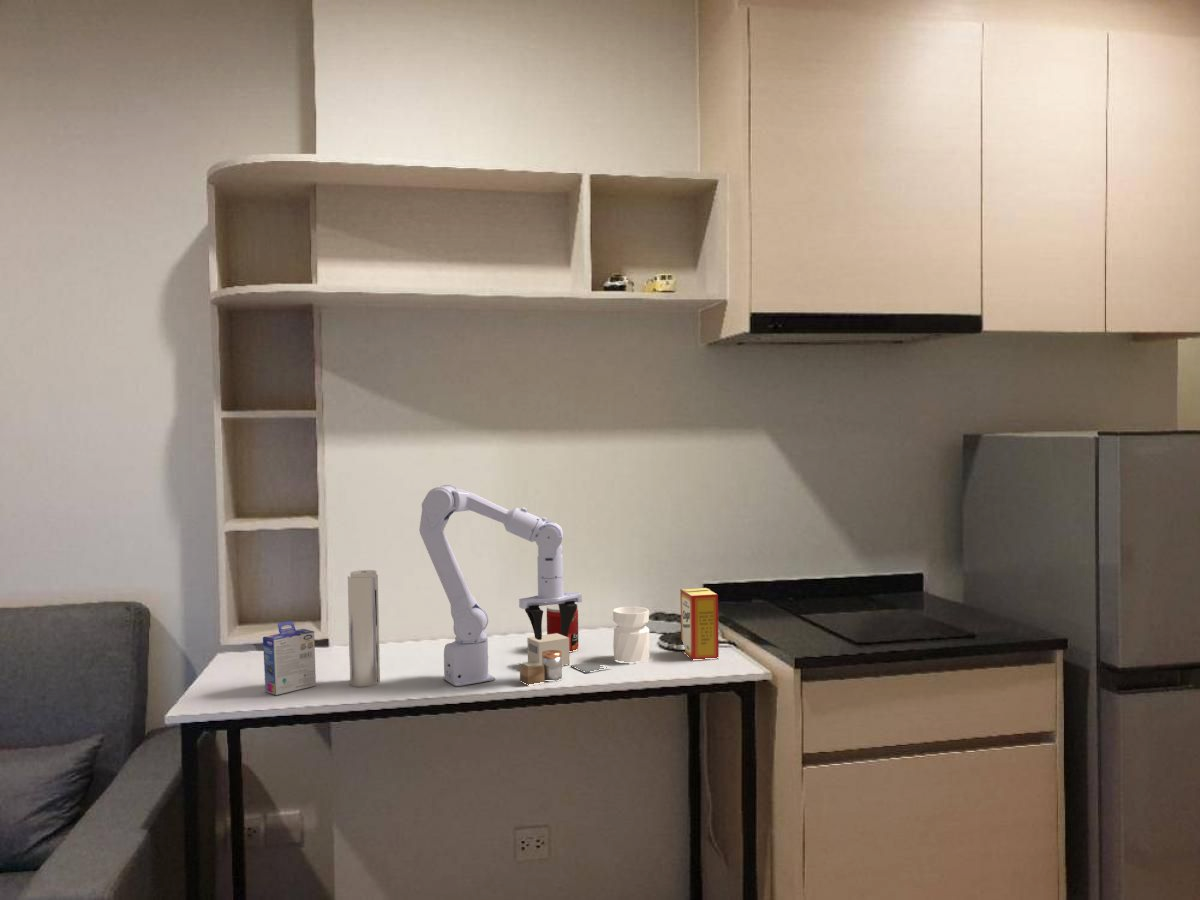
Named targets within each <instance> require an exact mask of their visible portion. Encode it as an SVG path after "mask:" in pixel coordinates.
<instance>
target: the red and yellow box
mask: <svg viewBox="0 0 1200 900" xmlns="http://www.w3.org/2000/svg"><path fill="white" fill-rule="evenodd" d="M679 592H680V594H679V595H680V641H681V640H682V642H683V644H684V647H685V653H686V654H687V655H688V656H689V657H690V658H691V659H692V660H693V659H705V658H717V657H719V654H720V653H719V652H720V651H719V650H720V649H719V599H718V597H719V594H717V593H715V592H714V591H712V590H711V589H710V588H707V587H697V588H695V587H694V588H693V587H692V588H680V591H679ZM689 657H688V658H689ZM690 658H689V659H690ZM691 659H690V660H691ZM692 660H691V661H692Z"/></svg>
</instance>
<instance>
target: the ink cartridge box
mask: <svg viewBox="0 0 1200 900" xmlns="http://www.w3.org/2000/svg"><path fill="white" fill-rule="evenodd" d="M284 626H291V627H287V628H283V627H284ZM277 628H278V633H276V634H271V635H265V636H263V637H262V648H263V649H262V651H263V665H264V667H263V668H264V671H263V672H264V686H265V687H264V689H265V690H264V691H266V693H268V694H270V693H271V694H270V695H273V696H279V695H282V694H287V693H290V692H291V693H292V692H295V691H299V690H304V689H307V688H311V687H315V686H317V681H316V652H315V651H316V649H315V631H314V630H309V629H306V628H300V629H296V627H295V624H294V621H293V620H290V621H285V622H284V621H282V622H279V623H277Z"/></svg>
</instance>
